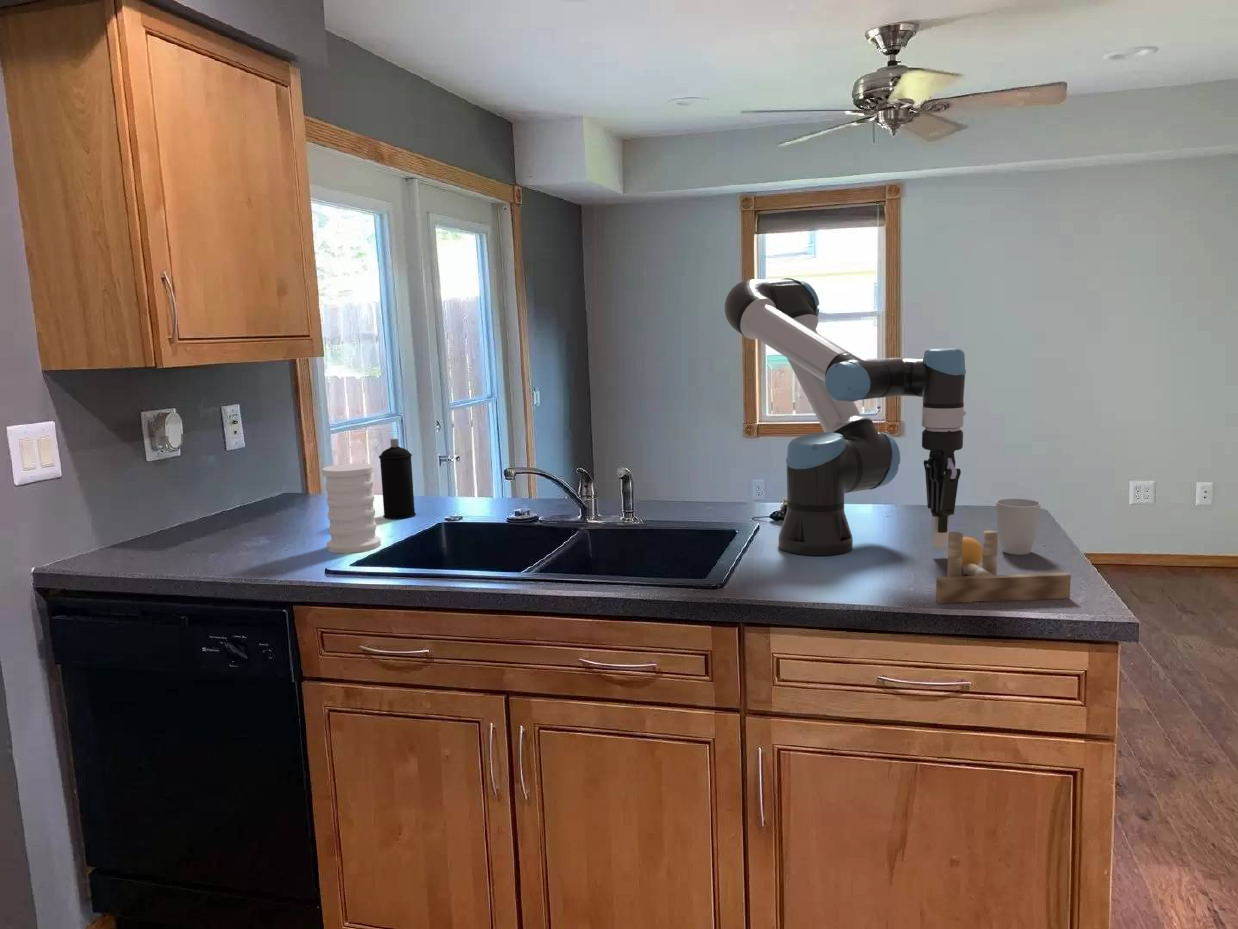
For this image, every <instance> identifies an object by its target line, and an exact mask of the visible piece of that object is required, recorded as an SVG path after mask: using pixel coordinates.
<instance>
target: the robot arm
mask: <svg viewBox="0 0 1238 929" xmlns="http://www.w3.org/2000/svg"><path fill="white" fill-rule="evenodd" d="M818 306H820V300H819V297H818V294H817V292H816V290H815V289H814V288H813V287H812V285H810V283H808V282H806V280H805V281H804V280H801V279H797V278H789V277H787V278H786V277H785V278H781V279H778V278H777V279H775V278H774V279H771V278H761V279H760V278H748V279H745V280H743V281H740V282H738V283H737V284H736V285H734V286H733V287H732V288H731V290H730V291H729V292H728V294H727V296H726V298H725V302H724V314H725V319H726V320H727V322H728V323H729V325H730V326H731V327H732V328H733V329H734V330H735V331H736V332H737V333H739V334H741V335H742V336H744V337H745V338H747V339H749V340H758V341H760V342H762V343H763V344H764V345H766V346H768V347H769V348H771V349H772V350H774V351H775V352H777V353H779V354H780V355H782V356H783V357H785V358H786V359H787V361H788V363H789V365H790V367H791V369H792V371H793V373H794V375H795V377H796V379H797V381H798V383H799V384H800V387H801V388H802V391H803V392H804V395H805V396H806V398H807V400H808V403H809V404H810V406H811V408H812V411H813V413H814V415H815V416H816V419H817V420H818V422H819V425H820V426H821V428H822V430H823V432H817V433H807V434H804V435H800V436H797V437H795V438H793V439H792V440H791V441H790V442H789V443H788V445H787V451H786V452H787V454H786V460H785V464H786V504H787V505H786V513H785V515H784V519H783V522H782V525H781V528H780V531H779V535H778V547H779V549H780V550H782V551H784V552H787V553H792V554H798V555H805V556H833V555H840V554H844V553H848V552H849V551H852V550H853V545H854V544H853V534H852V532H851V528H850V525H849V522H848V518H847V516H846V512H845V494H847V493H855V492H861V491H867V490H868V491H869V490H875V489H878V488H881V487H883V486H884V487H885V486H886V485H888V484H889V483H891V482H892V481H893V480H894V479H895V477H896V476H897V474H898V472H899V465H900V464H901V451H900V447H899V446H898V443H897V442H896V440H895V438H893V436H891V435H890V434H886V433H885V432H882V431H880V432H879V431H878V429H877V428H876V425H875V424H874V422H873V420H872V419H871V418H870V417H865V416H863V415H862V414H861V413H860V411H859V409H858V407H857V405H856V403H855V402H857V401H863V400H872V399H881V398H892V397H893V398H894V397H919V398H920V397H922V407H921V408H922V409H921V410H922V412H921V414H922V415H921V416H922V417H921V426H922V428H924V429H923V430H922V431H921V447H922V449H924V450H927V451H929V454H928V456H929V457H928V459H923V466H924V473H925V486H926V487H925V489H926V490H925V491H926V501H927V504H926V505H927V506H926V507H927V509H929V510H930V513H931V515H932V516H931V548H932V549H935V550H936V549H948V533H949V517H950V516H951V515H954V514H955V508H956V501H957V494H958V487H959V486H958V485H959V480H960V477H961V474H962V472H961V468H956V458H955V452H956V451H960V450H962V449H963V446H964V431H963V430H962V429H961V428H963V427H964V416H966V411H965V410H964V408H965V407H964V406H965V404H964V403H965V402H964V397H965V384H966V373H967V370H966V359H965V358H966V355H965V352H964V351H963V350H962V349H960V348H954V347H953V348H947V347H946V348H927V349H926V350H925V351H924V353H923V358H910V357H909V358H908V357H898V356H897V357H896V356H895V357H883V358H879V359H873V360H872V359H871V360H870V359H869V360H867V359H866V360H864V359H861V358H860V357H858V356H856V355H854V354H853V353H852V352H849V351H847V350H846V349H845V348H842V347H841V346H840V345H838V344H836V343H834V342H833V341H831V340H829V339H827V338H826V337H824V336H822V334H820V333H818V331H817V327H818V325H819V313H820V308H819V307H818Z"/></svg>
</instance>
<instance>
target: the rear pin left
mask: <svg viewBox="0 0 1238 929" xmlns="http://www.w3.org/2000/svg"><path fill="white" fill-rule="evenodd" d="M982 541H983V543H982V545H983V546H982V549H983V557H982V566H981V568H983V569H985V570H987V571H989V572H990V573H992V574H994V575H998V573H997V570H998V549H999V548H998V546H999V544H998V543H999V534H998V531H996V530H984V531H983V540H982Z"/></svg>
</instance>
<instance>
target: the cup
mask: <svg viewBox="0 0 1238 929" xmlns="http://www.w3.org/2000/svg"><path fill="white" fill-rule="evenodd" d="M995 503H996V507H995V508H996V509H995V510H996V526H997V532H998V541H999V543H1000V545H1001V550H1002V553H1003V552H1004V553H1006V554H1010V555H1018V556H1019V555H1020V556H1021V555H1029V554H1030V553H1031V551H1032V548H1033V546H1034V543H1035V542H1036V536H1037V534H1038V533H1037V532H1038V527H1039V522H1040V513H1041V502H1039V501H1036V500H1033V499H1026V498H1002V499H997V500H996V501H995Z"/></svg>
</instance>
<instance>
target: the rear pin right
mask: <svg viewBox="0 0 1238 929" xmlns="http://www.w3.org/2000/svg"><path fill="white" fill-rule="evenodd" d="M963 537H964V534H963V532H959V531H948V548H947V568H946V569H947V571H946V572H947V574H946V577H961V576H962V573H963V568H962V542H963Z"/></svg>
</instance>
